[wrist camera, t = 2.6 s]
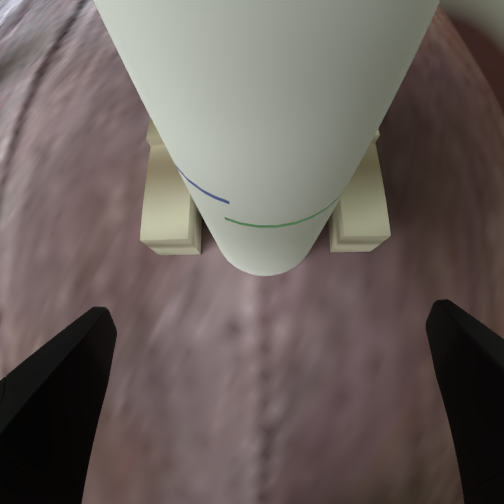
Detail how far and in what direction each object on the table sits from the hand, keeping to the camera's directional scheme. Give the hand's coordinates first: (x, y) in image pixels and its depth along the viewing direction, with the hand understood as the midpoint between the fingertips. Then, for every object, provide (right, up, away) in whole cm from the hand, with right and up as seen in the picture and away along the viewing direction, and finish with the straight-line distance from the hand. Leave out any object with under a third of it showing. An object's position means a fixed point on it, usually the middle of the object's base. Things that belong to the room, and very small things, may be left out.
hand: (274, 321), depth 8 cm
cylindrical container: (0, +4, +15) cm, 15 cm away
